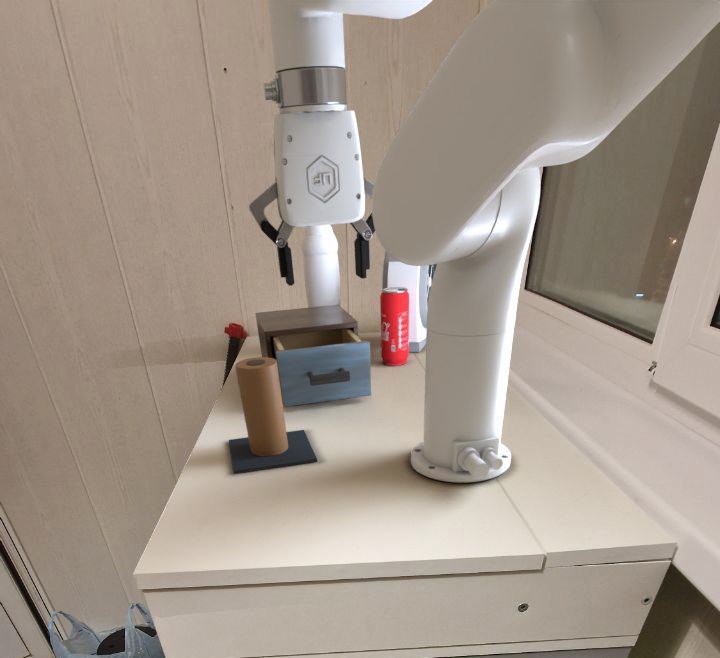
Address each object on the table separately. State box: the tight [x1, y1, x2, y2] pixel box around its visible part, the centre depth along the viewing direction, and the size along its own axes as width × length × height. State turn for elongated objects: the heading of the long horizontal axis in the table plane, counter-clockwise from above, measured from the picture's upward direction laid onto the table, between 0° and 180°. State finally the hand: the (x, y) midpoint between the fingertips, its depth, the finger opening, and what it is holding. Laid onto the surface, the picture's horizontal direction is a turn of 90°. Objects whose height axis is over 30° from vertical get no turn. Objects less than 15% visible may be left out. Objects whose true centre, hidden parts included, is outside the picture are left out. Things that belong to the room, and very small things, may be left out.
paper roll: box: [234, 356, 288, 456], centre depth 73 cm, size 5×5×11 cm
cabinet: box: [255, 305, 360, 359], centre depth 99 cm, size 16×16×10 cm
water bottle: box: [300, 224, 342, 308], centre depth 109 cm, size 7×7×25 cm
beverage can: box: [379, 287, 410, 367], centre depth 103 cm, size 5×5×12 cm
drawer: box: [271, 328, 372, 408], centre depth 90 cm, size 19×14×8 cm
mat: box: [228, 429, 318, 474], centre depth 76 cm, size 11×11×1 cm
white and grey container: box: [381, 250, 437, 353], centre depth 109 cm, size 18×8×20 cm, turn 162°
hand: (325, 280), depth 72 cm, fingers open, 9 cm apart
